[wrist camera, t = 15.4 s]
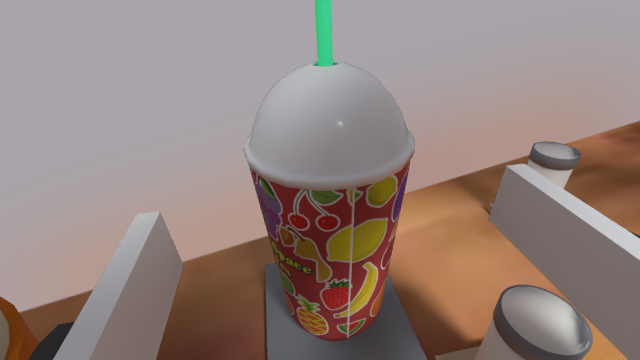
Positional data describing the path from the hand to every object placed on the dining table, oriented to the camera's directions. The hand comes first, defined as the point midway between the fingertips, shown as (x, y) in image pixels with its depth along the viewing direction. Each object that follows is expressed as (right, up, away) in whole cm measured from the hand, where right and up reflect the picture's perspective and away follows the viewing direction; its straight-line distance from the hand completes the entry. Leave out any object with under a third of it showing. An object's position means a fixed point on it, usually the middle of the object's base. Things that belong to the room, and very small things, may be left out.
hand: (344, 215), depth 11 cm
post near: (+9, -11, +6) cm, 16 cm away
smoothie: (0, -8, +11) cm, 14 cm away
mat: (0, -9, +11) cm, 14 cm away
